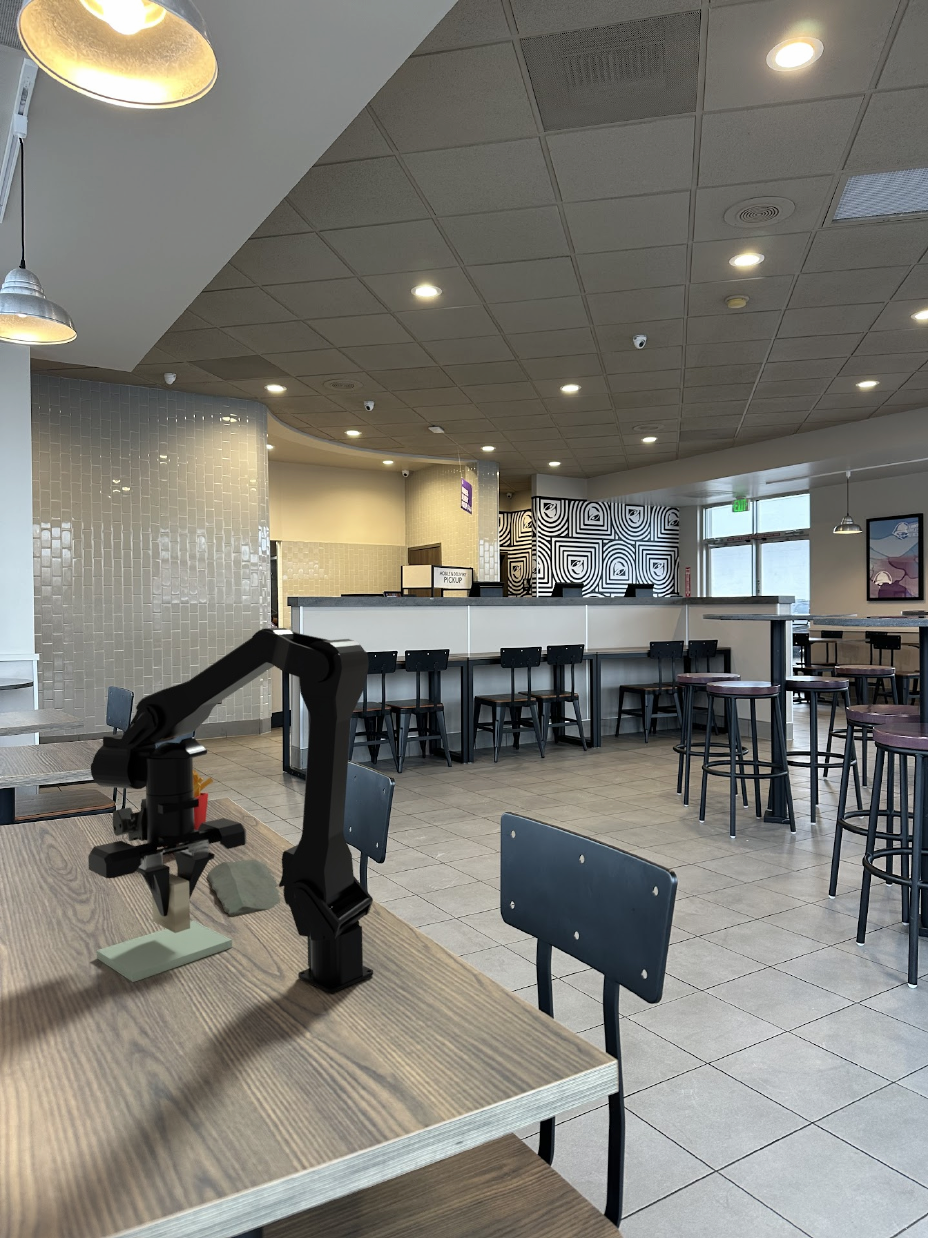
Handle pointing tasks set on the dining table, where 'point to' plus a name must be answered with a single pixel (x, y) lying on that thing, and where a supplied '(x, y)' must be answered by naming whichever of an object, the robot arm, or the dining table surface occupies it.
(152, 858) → the robot arm
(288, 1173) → the dining table surface
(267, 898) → the stone slab
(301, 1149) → the dining table surface
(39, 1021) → the dining table surface
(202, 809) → the french fries
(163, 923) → the beige flat box
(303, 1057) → the dining table surface
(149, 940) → the mat
